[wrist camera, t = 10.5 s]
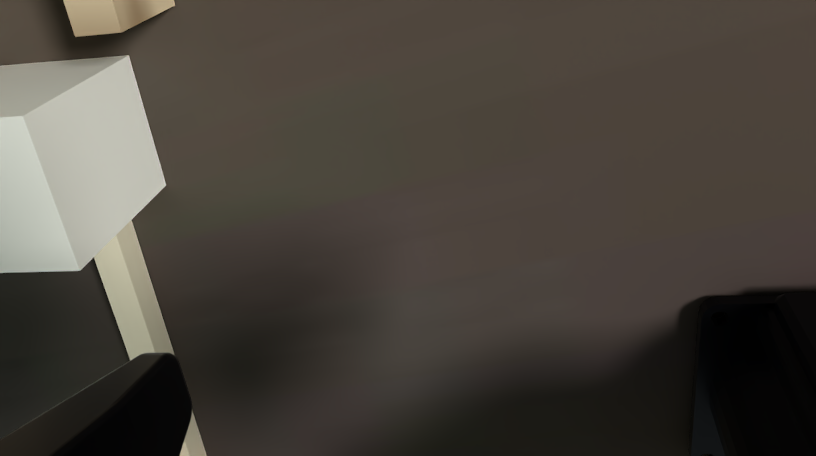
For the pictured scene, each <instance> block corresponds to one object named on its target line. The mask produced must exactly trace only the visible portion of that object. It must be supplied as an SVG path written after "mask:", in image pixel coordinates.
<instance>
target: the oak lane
mask: <svg viewBox="0 0 816 456" xmlns="http://www.w3.org/2000/svg"><path fill="white" fill-rule="evenodd" d="M63 1H64V4H65V7H66V10H67V13H68V16H69V19H70V23H71V26H72V29H73V32H74V35H75V37H79V36H89V35H100V34H111V33H121V32H124V31H126V30H128V29H130V28H132V27H134V26H135V25H137V24H139V23H141V22H143V21H145V20H147V19H149V18H151V17H153V16H155V15H157V14H159V13H161V12H163V11H165V10H167V9H169V8H171V7H173V6H175V3H174V0H63Z"/></svg>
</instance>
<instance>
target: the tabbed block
mask: <svg viewBox="0 0 816 456" xmlns="http://www.w3.org/2000/svg"><path fill="white" fill-rule="evenodd" d="M165 186H166V183H165V179H164V176H163V172H162V169H161V165H160V162H159V158H158V155H157V151H156V148H155V145H154V141H153V138H152V134H151V131H150V127H149V124H148V120H147V117H146V113H145V110H144V106H143V103H142V99H141V96H140V92H139V89H138V86H137V82H136V79H135V75H134V72H133V68H132V65H131V61H130V58H129V55H126V56H113V57H101V58H89V59H76V60H64V61H52V62H39V63H27V64H15V65H3V66H0V273H15V272H53V271H80V270H81V269H82V268H83V267H84V266H85V265H86V264H87V263H88V262H89V261H90V260H91V259H92V258H93V257H94V259H95V262H96V265H97V268H98V271H99V274H100V276H101V279H102V282H103V285H104V288H105V290H106V293H107V296H108V299H109V302H110V305H111V307H112V310H113V313H114V316H115V319H116V321H117V324H118V327H119V330H120V333H121V335H122V338H123V341H124V344H125V347H126V350H127V352H128V355H129V358H130V360H132V359H134V358H135V357H137V356H139V355H140V354H143V353H165V352H168V353H171V354H173V355H174V351H173V348H172V345H171V342H170V339H169V336H168V333H167V330H166V326H165V323H164V320H163V317H162V314H161V311H160V308H159V304H158V301H157V298H156V295H155V292H154V289H153V286H152V283H151V279H150V276H149V273H148V270H147V267H146V264H145V261H144V258H143V254H142V251H141V248H140V245H139V242H138V239H137V236H136V232H135V229H134V226H133V223H132V219H133V218H134V217H135V216H136V215H137V214H138V213H139V212H140V211H141V210H142V209H143V208H144V207H145V206H146V205H147V204H148V203H149V202H150V201H151V200H152V199H153V198H154V197H155V196H156V195H157V194H158V193H159V192H160V191H161V190H162V189H163V188H164V187H165ZM180 456H207V455H206V452H205V448H204V445H203V442H202V439H201V436H200V433H199V430H198V427H197V423H196V420H195V417H194V414H193V411H192V416H191V421H190V424H189V427H188V430H187V434H186V437H185V440H184V443H183V446H182V450H181V453H180Z"/></svg>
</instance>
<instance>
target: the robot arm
mask: <svg viewBox="0 0 816 456" xmlns="http://www.w3.org/2000/svg"><path fill="white" fill-rule="evenodd" d="M720 311H721V312H725V314H724V315H723V316H722V317H719V318H712V317H711V316H712V315H713V314H714V313H715V312H720ZM191 416H192V401H191V397H190V394H189V391H188V388H187V385H186V382H185V379H184V376H183V373H182V370H181V367H180V363H179V361H178V359H177V358H176V356H175V355H173V354H171V353H168V352H165V353H143V354H140V355H139V356H137V357H135V358H134V359H132V360H130V361H129V362H127V363H125V364H124V365H122V366H120V367H119V368H117V369H115V370H114V371H112V372H110V373H109V374H107V375H106V376H104V377H102V378H101V379H99V380H97V381H96V382H94V383H92V384H91V385H89V386H87V387H86V388H84V389H82V390H81V391H79V392H77V393H76V394H74V395H73V396H71V397H69V398H68V399H66V400H64V401H63V402H61V403H59V404H58V405H56V406H54V407H53V408H51V409H49V410H48V411H46V412H44V413H43V414H41V415H40V416H38V417H36V418H35V419H33V420H31V421H30V422H28V423H26V424H25V425H23V426H21V427H20V428H18V429H16V430H15V431H13V432H11V433H10V434H8V435H7V436H5V437H3V438H2V439H0V456H180V453H181V450H182V446H183V443H184V440H185V437H186V434H187V430H188V427H189V424H190V421H191ZM688 451H689V456H701V455H703V454H710V455H708V456H816V292H805V293H785V294H782V295H769V296H722V297H713V298H709V299H708V300H706V301H704V302H703V303H702V304H701V306H700V308H699V312H698V325H697V339H696V352H695V366H694V379H693V393H692V407H691V420H690V434H689V447H688Z"/></svg>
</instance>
